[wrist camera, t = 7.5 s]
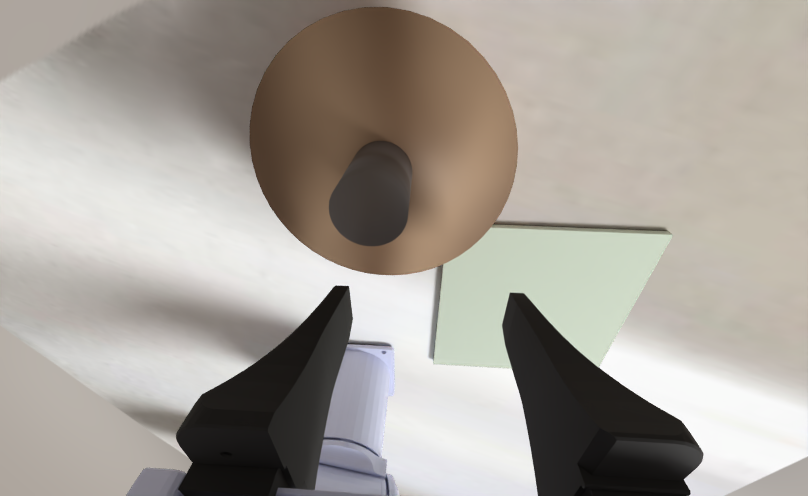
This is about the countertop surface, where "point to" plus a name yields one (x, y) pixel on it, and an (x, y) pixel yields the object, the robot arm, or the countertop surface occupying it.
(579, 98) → the countertop surface
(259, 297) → the countertop surface
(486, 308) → the mat
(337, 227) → the lid
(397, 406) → the countertop surface
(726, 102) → the countertop surface
